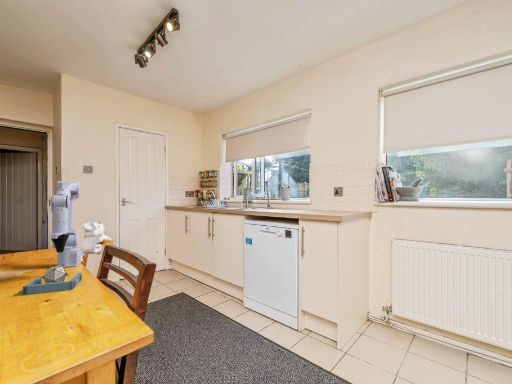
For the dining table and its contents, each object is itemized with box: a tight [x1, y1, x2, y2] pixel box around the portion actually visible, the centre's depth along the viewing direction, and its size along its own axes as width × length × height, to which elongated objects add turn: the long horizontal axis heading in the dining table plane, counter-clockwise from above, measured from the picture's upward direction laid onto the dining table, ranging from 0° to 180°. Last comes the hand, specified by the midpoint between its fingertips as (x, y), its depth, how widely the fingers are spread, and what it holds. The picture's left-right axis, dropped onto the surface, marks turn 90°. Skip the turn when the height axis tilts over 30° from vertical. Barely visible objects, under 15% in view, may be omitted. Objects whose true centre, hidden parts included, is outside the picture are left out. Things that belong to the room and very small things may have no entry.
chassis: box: [22, 272, 83, 296], centre depth 98 cm, size 15×12×3 cm
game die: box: [39, 265, 70, 284], centre depth 99 cm, size 9×8×10 cm
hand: (60, 252), depth 112 cm, fingers closed
